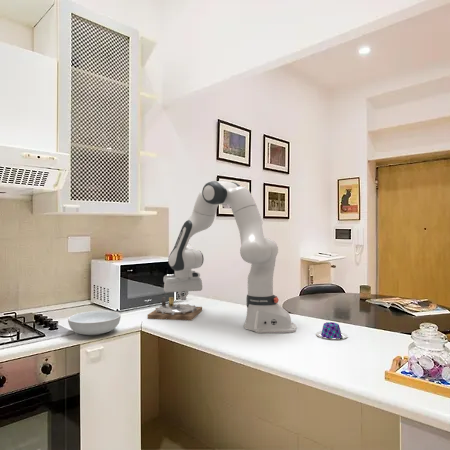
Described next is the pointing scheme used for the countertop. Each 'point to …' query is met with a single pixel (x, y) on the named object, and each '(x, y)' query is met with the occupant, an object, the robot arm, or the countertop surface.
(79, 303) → the countertop surface
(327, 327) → the purple domed brimmed piece
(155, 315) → the index board
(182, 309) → the sprocket
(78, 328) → the serving bowl
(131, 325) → the countertop surface
